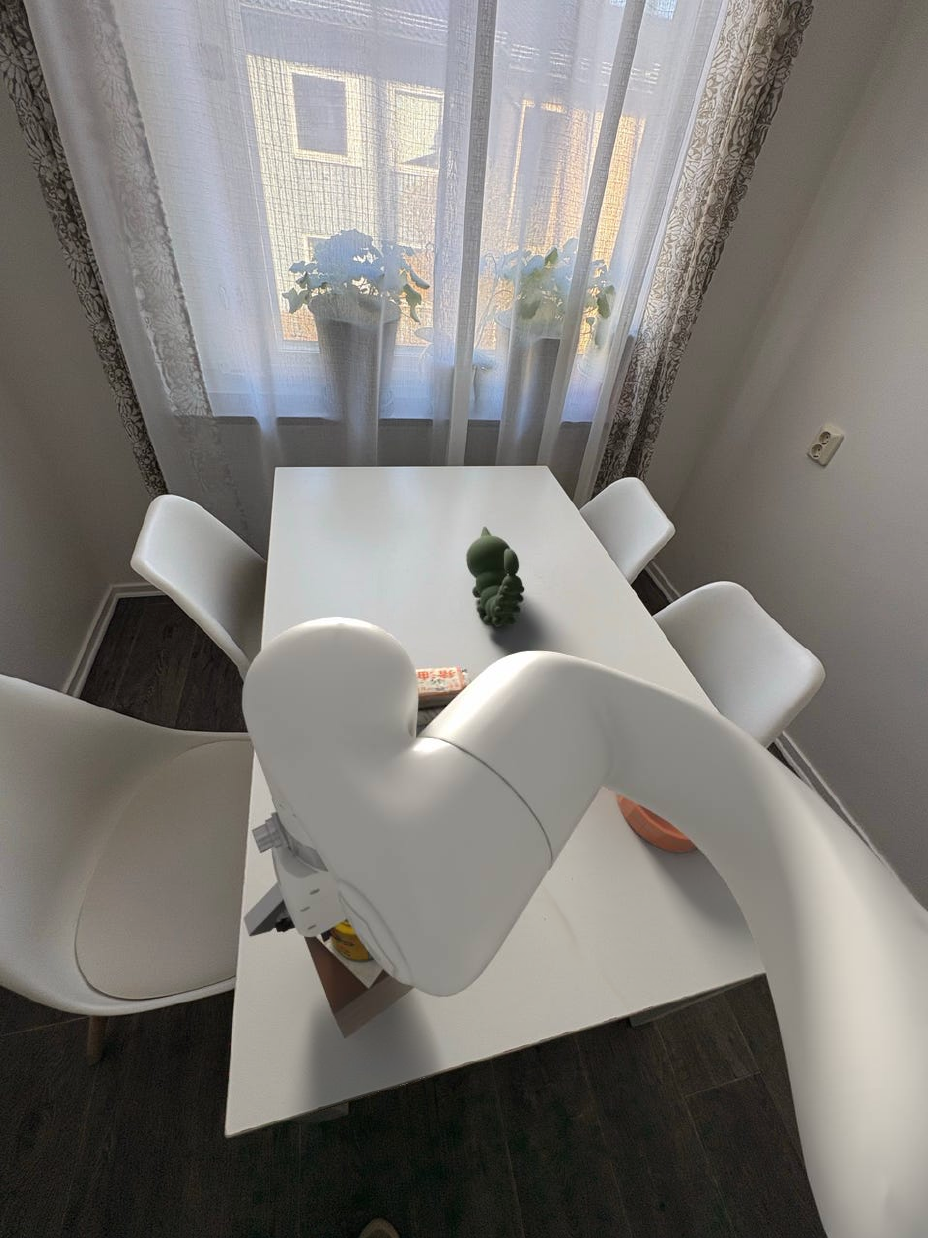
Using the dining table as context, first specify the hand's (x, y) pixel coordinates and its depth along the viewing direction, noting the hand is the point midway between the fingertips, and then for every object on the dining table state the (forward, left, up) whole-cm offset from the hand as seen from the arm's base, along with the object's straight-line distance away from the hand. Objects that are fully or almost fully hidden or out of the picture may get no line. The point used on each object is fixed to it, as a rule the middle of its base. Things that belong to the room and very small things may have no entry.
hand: (359, 897), depth 42 cm
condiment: (0, -1, -8) cm, 8 cm away
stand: (0, 0, -23) cm, 23 cm away
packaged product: (+29, -23, -24) cm, 44 cm away
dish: (-5, -46, -23) cm, 52 cm away
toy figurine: (+44, -48, -24) cm, 69 cm away
